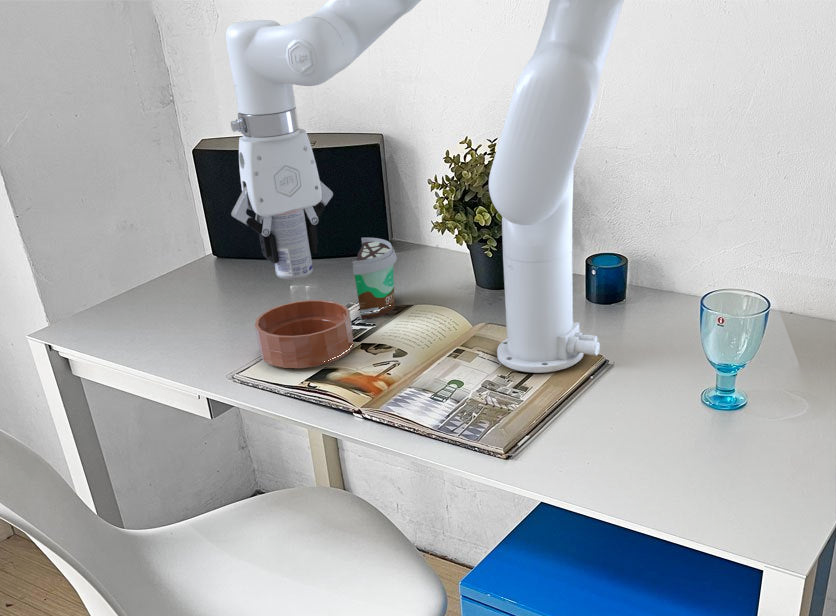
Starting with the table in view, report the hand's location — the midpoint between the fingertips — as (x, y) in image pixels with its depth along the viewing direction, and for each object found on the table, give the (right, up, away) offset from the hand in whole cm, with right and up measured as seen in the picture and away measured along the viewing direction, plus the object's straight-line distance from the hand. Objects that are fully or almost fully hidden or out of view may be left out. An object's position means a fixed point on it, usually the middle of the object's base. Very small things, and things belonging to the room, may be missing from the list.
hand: (291, 254), depth 141 cm
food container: (+11, -3, +22) cm, 25 cm away
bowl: (+1, -13, +8) cm, 15 cm away
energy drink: (0, -3, +2) cm, 3 cm away
